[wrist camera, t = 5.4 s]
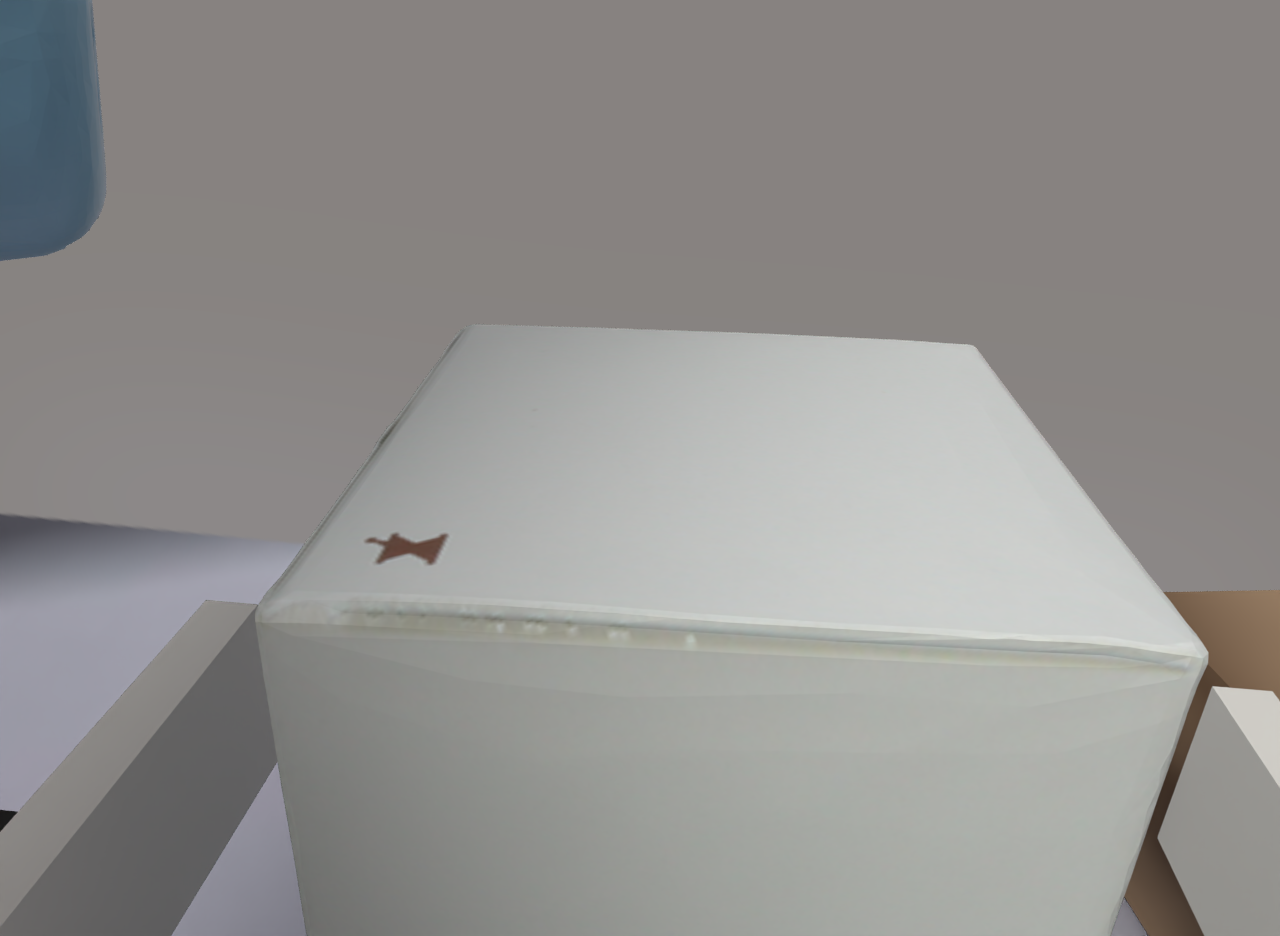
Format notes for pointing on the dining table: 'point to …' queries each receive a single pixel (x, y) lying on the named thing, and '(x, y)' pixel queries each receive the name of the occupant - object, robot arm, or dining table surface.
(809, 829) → the supplement box
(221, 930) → the dining table surface
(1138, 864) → the walnut plinth
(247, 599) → the dining table surface
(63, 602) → the dining table surface
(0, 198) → the robot arm
